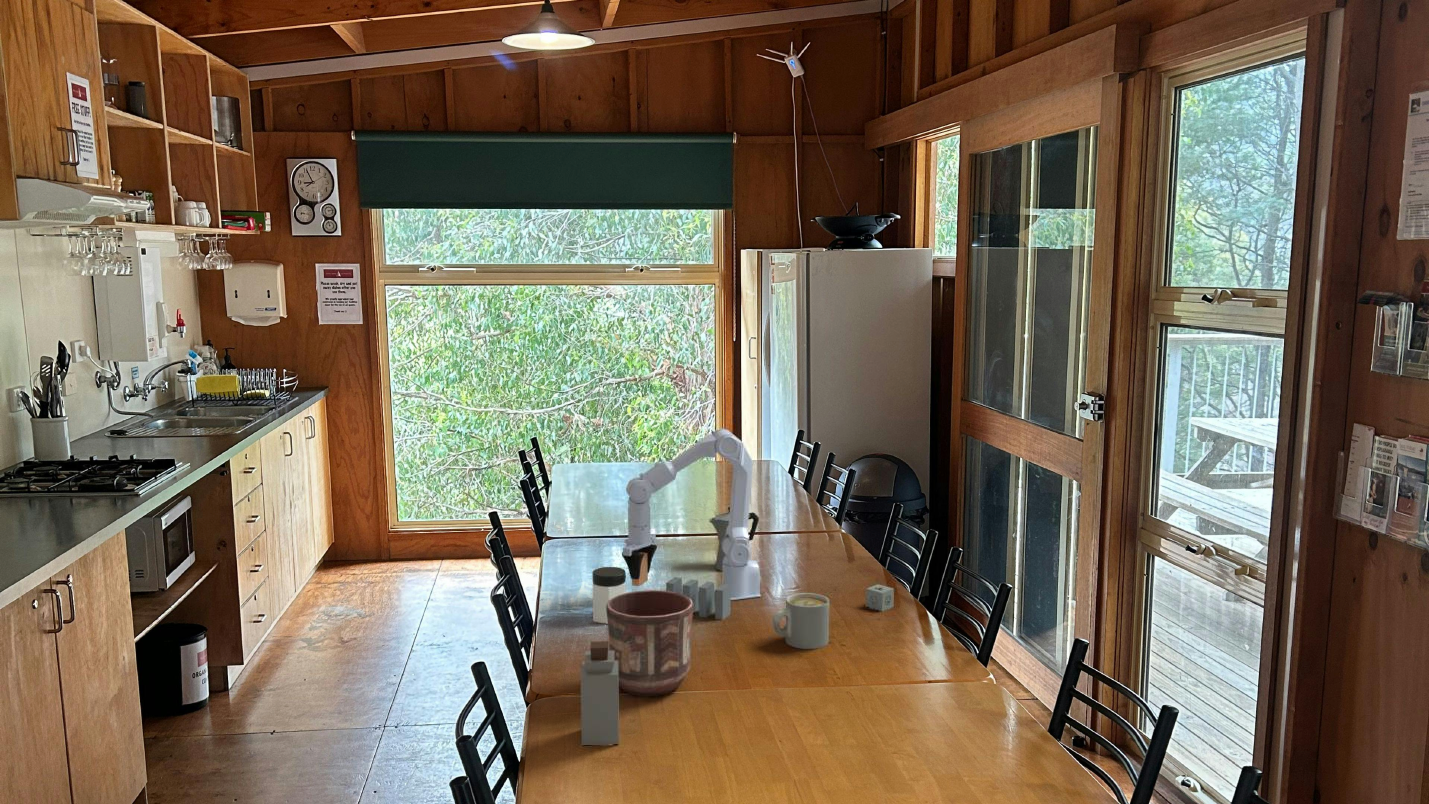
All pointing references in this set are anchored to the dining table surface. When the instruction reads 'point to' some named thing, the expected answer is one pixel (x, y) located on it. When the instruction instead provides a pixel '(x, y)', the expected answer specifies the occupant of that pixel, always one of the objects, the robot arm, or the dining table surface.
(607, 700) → the perfume bottle
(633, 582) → the domino
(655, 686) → the pottery
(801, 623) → the coffee mug
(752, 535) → the coffeepot
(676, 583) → the domino
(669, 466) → the robot arm
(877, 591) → the white cube
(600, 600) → the jar
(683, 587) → the domino
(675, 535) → the dining table surface
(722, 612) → the domino
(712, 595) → the domino
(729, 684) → the dining table surface
